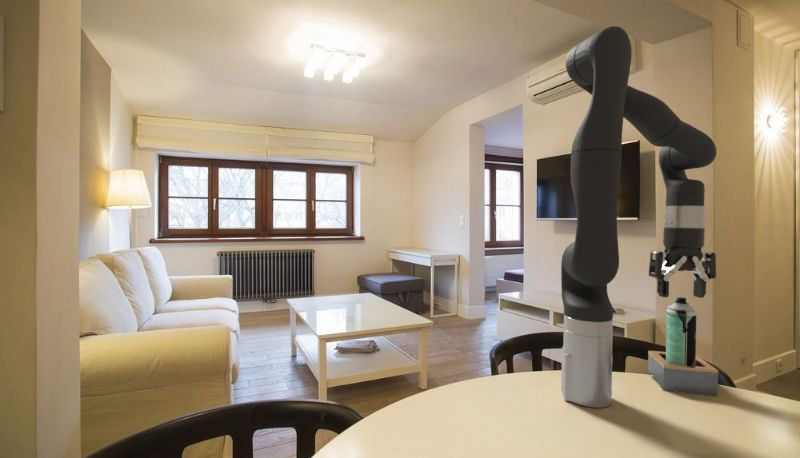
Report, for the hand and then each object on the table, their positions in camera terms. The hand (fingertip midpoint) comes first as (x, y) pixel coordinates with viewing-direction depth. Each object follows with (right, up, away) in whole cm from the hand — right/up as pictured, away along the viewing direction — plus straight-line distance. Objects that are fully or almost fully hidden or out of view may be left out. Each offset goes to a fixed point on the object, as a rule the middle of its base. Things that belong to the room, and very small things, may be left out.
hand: (681, 296), depth 87 cm
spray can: (0, -20, 0) cm, 20 cm away
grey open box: (0, -20, 0) cm, 20 cm away
